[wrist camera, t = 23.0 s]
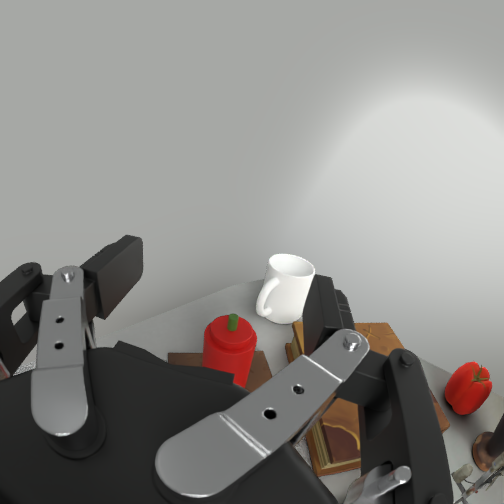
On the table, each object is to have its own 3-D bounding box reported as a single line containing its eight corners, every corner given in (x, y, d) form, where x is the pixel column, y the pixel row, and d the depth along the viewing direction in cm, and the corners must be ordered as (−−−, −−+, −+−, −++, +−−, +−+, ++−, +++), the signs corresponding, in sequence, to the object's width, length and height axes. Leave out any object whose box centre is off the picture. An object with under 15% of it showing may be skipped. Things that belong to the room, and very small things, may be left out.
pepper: (221, 410, 28) (232, 344, 23) (192, 381, 31) (194, 311, 26) (253, 388, 32) (272, 320, 27) (224, 363, 35) (235, 294, 30)
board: (171, 431, 25) (170, 425, 25) (168, 359, 36) (168, 352, 35) (284, 421, 29) (287, 416, 29) (261, 356, 40) (263, 350, 39)
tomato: (444, 378, 36) (465, 349, 33) (475, 396, 31) (498, 369, 28) (433, 409, 30) (459, 380, 27) (468, 430, 25) (496, 402, 22)
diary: (429, 444, 24) (453, 423, 22) (314, 477, 22) (334, 461, 19) (378, 345, 45) (391, 321, 42) (284, 346, 42) (293, 320, 40)
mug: (270, 341, 43) (284, 290, 39) (235, 316, 48) (243, 266, 43) (308, 313, 51) (323, 268, 47) (276, 294, 56) (287, 249, 52)
